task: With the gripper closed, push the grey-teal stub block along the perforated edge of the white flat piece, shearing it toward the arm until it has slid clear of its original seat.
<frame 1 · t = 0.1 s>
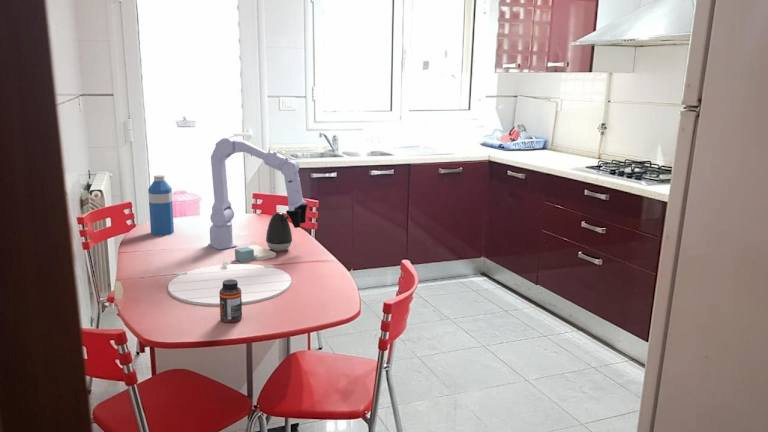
hand: (300, 225, 235), 11 cm above the table, tool pointing down, fingers open, 7 cm apart
white flat piece: (256, 254, 232), on the table
supplement bottle: (231, 320, 169), on the table
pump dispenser: (279, 250, 239), on the table
stub: (244, 254, 224), point 2 cm above the table, slide at 0.0 cm
lazy susan: (231, 285, 198), on the table
water bottle: (162, 233, 260), on the table
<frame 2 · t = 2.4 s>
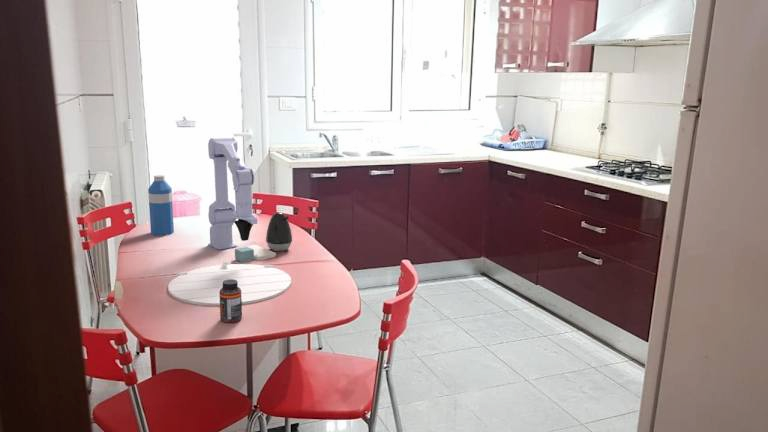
hand: (244, 240, 216), 9 cm above the table, tool pointing down, fingers closed
nothing on the table moved.
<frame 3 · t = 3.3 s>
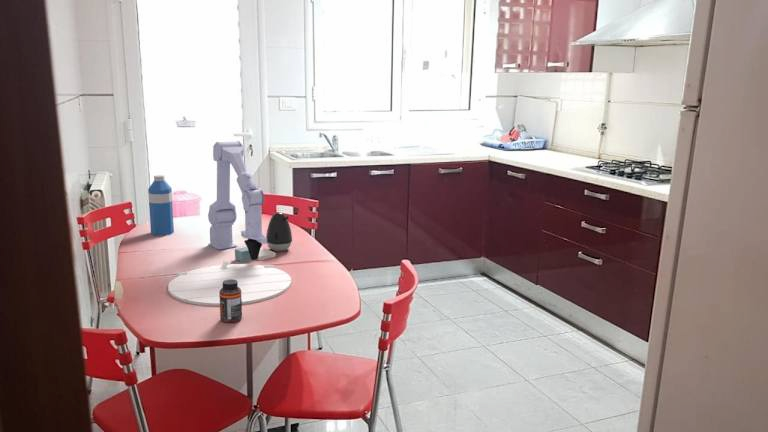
hand: (254, 259, 219), 2 cm above the table, tool pointing down, fingers closed
nothing on the table moved.
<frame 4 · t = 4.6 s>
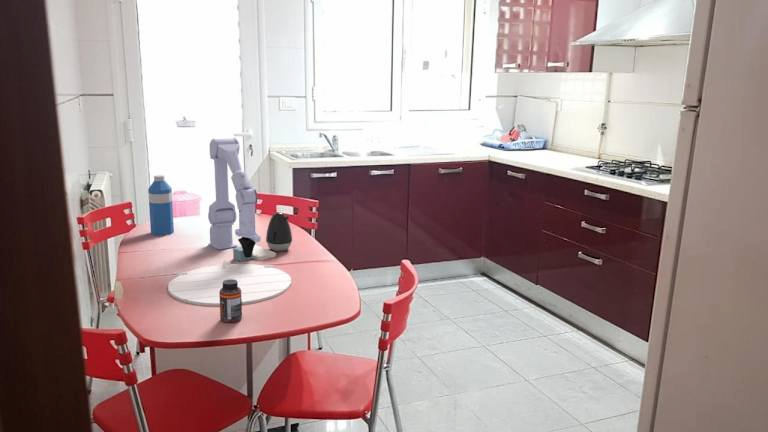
hand: (248, 257, 222), 2 cm above the table, tool pointing down, fingers closed
stub: (242, 253, 225), point 2 cm above the table, slide at 1.2 cm, touching gripper
everything else where it was.
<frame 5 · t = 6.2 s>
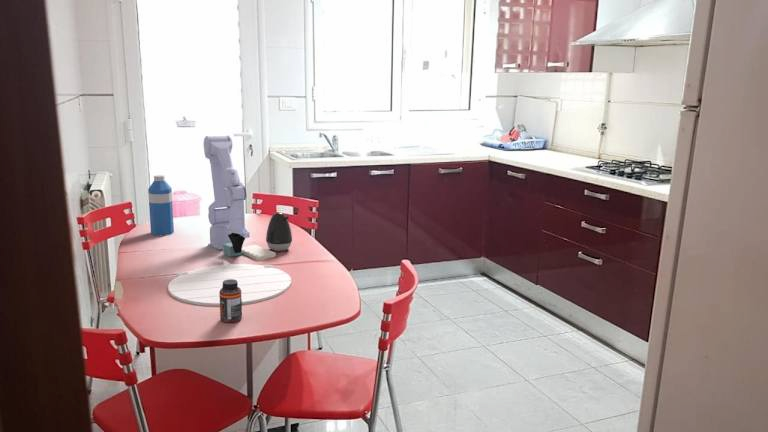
hand: (237, 252, 227), 2 cm above the table, tool pointing down, fingers closed
stub: (232, 249, 230), point 2 cm above the table, slide at 8.7 cm, touching gripper
everything else where it was.
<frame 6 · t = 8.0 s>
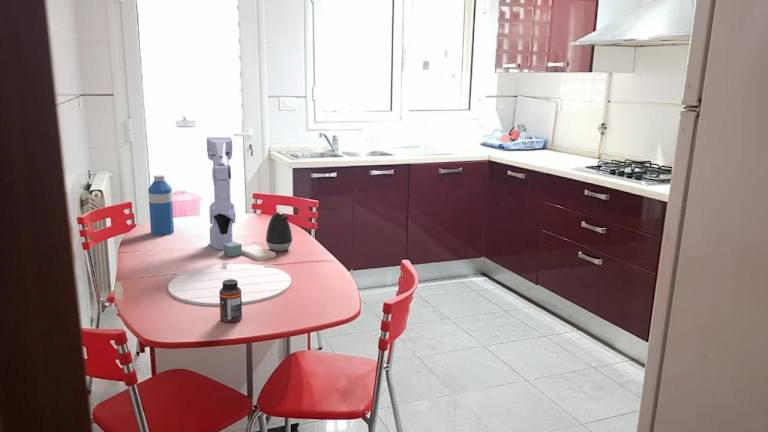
hand: (223, 233, 224), 9 cm above the table, tool pointing down, fingers closed
stub: (232, 249, 230), point 2 cm above the table, slide at 8.8 cm
everything else where it was.
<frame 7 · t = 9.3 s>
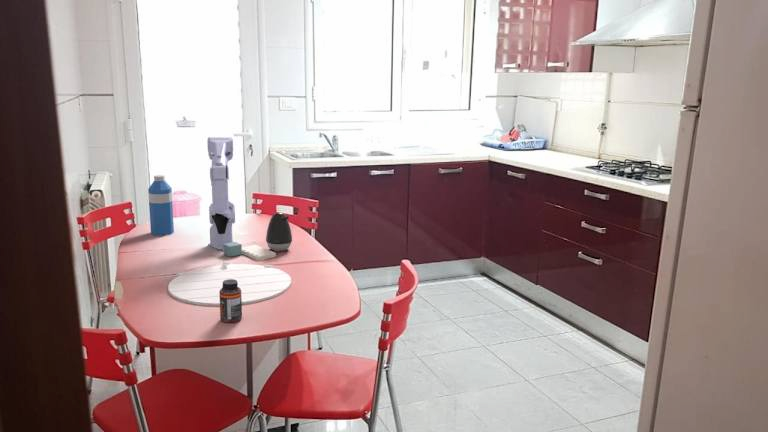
hand: (221, 233, 224), 9 cm above the table, tool pointing down, fingers closed
nothing on the table moved.
at the end: stub slide at 8.8 cm; stub touching nothing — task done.
